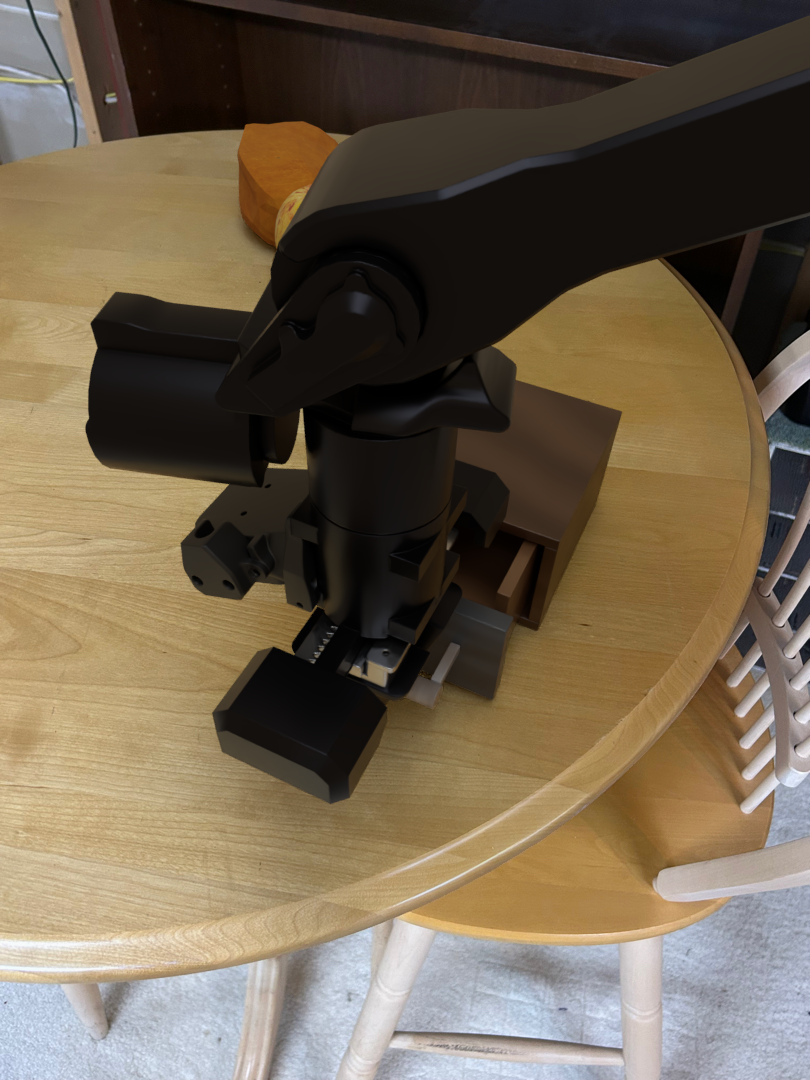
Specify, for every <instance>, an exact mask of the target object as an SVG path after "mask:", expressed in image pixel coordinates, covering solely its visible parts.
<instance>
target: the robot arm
mask: <svg viewBox="0 0 810 1080" xmlns="http://www.w3.org/2000/svg"><path fill="white" fill-rule="evenodd" d="M807 217H810V15H807V16H804V17H801V18H799V19H796V20H794V21H791V22H787V23H785V24H782V25H780V26H778V27H775V28H772V29H769V30H767V31H764V32H761V33H758V34H756V35H753V36H751V37H748V38H744V39H742V40H740V41H737V42H735V43H734V42H733V43H731V44H728V45H726V46H723V47H720V48H718V49H715V50H713V51H710V52H707V53H704V54H702V55H699V56H696V57H694V58H691V59H688V60H686V61H683V62H680V63H677V64H675V65H671V66H669V67H667V68H663V69H661V70H659V71H655V72H653V73H650V74H647V75H644V76H642V77H639V78H636V79H634V80H632V81H629V82H626V83H623V84H621V85H618V86H615V87H612V88H610V89H607V90H604V91H602V92H598V93H596V94H593V95H591V96H587V97H586V98H585V97H584V98H583V99H580V100H576V101H572V102H566V103H561V104H554V105H550V106H545V107H539V108H530V109H529V108H527V109H526V108H525V109H524V108H522V109H521V108H483V107H482V108H481V107H480V108H479V107H478V108H476V107H474V108H473V107H470V108H469V107H468V108H467V107H466V108H462V109H455V110H450V111H444V112H439V113H434V114H428V115H422V116H417V117H412V118H407V119H406V118H405V119H402V120H395V121H391V122H385V123H379V124H374V125H371V126H368V127H365V128H362V129H360V130H359V131H357V132H355V133H353V134H352V135H350V136H348V137H347V138H346V139H344V140H342V141H341V142H339V143H338V146H337V147H336V148H335V149H334V150H333V151H332V152H331V154H330V155H329V156H328V157H327V159H326V161H325V162H324V164H323V166H322V167H321V169H320V171H319V173H318V174H317V176H316V178H315V180H314V181H313V183H312V185H311V187H310V188H309V190H308V192H307V194H306V195H305V197H304V199H303V201H302V202H301V204H300V206H299V208H298V209H297V211H296V213H295V215H294V216H293V218H292V220H291V222H290V223H289V225H288V227H287V229H286V231H285V232H284V234H283V236H282V238H281V239H280V241H279V243H278V246H277V249H276V248H275V249H276V250H275V252H274V253H275V254H274V257H273V260H272V263H271V266H270V268H269V269H270V279H269V280H268V283H267V285H266V287H265V288H264V290H263V291H262V294H261V295H260V297H259V299H258V301H257V302H256V305H255V307H254V309H253V310H252V311H248V310H240V309H230V308H222V307H221V308H220V307H213V306H205V305H204V306H203V305H197V304H195V305H194V304H185V303H178V302H170V301H165V300H164V299H163V300H162V299H159V298H156V297H154V296H150V295H147V294H141V293H132V292H126V291H125V292H123V291H114V293H113V294H111V296H110V297H109V298H108V299H107V300H106V302H105V304H104V305H103V306H102V307H101V309H100V310H99V311H98V312H97V314H96V315H95V316H94V318H93V319H91V322H90V324H89V325H90V327H91V331H92V334H93V338H94V342H95V346H96V350H95V353H94V357H93V361H92V365H91V369H90V374H89V383H88V390H87V413H88V414H87V415H88V419H87V421H86V422H85V427H84V430H85V435H86V438H87V442H88V445H89V447H90V450H91V452H92V453H93V455H94V457H95V458H96V459H97V461H99V463H100V465H102V466H104V467H106V468H108V469H110V470H118V471H126V472H132V473H141V474H149V475H155V476H162V477H172V478H177V479H178V478H179V479H185V480H186V479H187V480H193V481H201V482H208V483H214V484H215V483H216V484H224V485H227V486H226V487H225V488H224V489H223V490H222V492H221V493H219V494H218V496H217V497H216V498H215V499H214V500H213V501H212V502H211V503H210V504H209V505H208V507H206V509H204V511H203V512H202V513H201V514H200V515H199V517H198V518H197V519H196V521H195V522H194V528H192V530H191V531H190V532H189V533H188V534H187V535H186V536H185V537H184V538H183V539H182V541H181V542H180V552H181V559H182V560H181V561H182V568H183V570H184V573H185V574H186V576H187V578H189V581H190V582H191V584H192V586H193V587H194V589H196V590H197V591H198V592H200V593H201V594H202V595H204V596H208V597H214V598H221V599H227V600H233V601H241V600H243V599H244V598H245V597H246V595H247V594H248V593H249V591H250V590H251V589H252V588H253V586H254V585H255V584H256V583H260V584H267V585H275V586H283V585H284V590H285V592H284V593H285V600H286V604H288V605H290V606H292V607H295V608H298V609H300V610H303V611H305V612H307V613H311V614H310V616H309V618H307V620H306V621H305V623H304V624H303V626H302V627H301V628H300V630H299V631H298V633H297V634H296V636H295V637H294V639H293V640H292V642H291V647H290V648H291V652H292V653H290V652H288V651H285V650H284V649H281V648H279V647H276V646H274V645H273V646H271V647H266V648H262V649H259V650H257V651H256V652H255V653H254V655H253V656H252V658H251V659H250V660H249V662H248V663H247V664H246V666H245V667H244V668H243V670H242V671H241V672H240V674H239V675H238V676H237V678H236V679H235V681H234V682H233V683H232V685H231V686H230V688H229V689H228V690H227V691H226V693H225V694H224V695H223V697H222V698H221V699H220V700H219V702H218V704H217V705H216V706H215V708H214V709H213V710H212V712H211V715H212V719H213V724H214V728H215V732H216V736H217V740H218V743H219V747H220V750H221V753H223V754H225V755H227V756H228V757H231V758H233V759H235V760H237V761H240V762H242V763H243V764H245V765H248V766H250V767H252V768H253V769H256V770H258V771H260V772H262V773H263V774H264V773H265V774H267V775H269V776H271V777H273V778H275V779H277V780H279V781H281V782H283V783H285V784H287V785H289V786H291V787H294V788H296V789H298V790H300V791H301V792H304V793H306V794H308V795H311V796H312V797H314V798H316V799H318V800H321V801H323V802H325V803H327V804H329V805H332V804H335V803H339V802H341V801H345V800H347V799H351V797H352V795H353V793H354V791H355V789H356V787H357V786H358V784H359V782H360V780H361V779H362V777H363V775H364V773H365V771H366V769H367V768H368V767H369V764H370V762H371V760H372V758H373V757H374V755H375V754H376V751H377V750H378V748H379V746H380V743H381V741H382V737H383V735H384V731H385V729H386V726H387V723H388V713H389V712H388V711H389V710H388V706H387V704H388V703H390V702H399V701H400V702H401V701H402V700H405V699H406V698H405V697H406V696H407V695H408V694H409V692H410V690H411V689H412V687H413V685H414V683H415V681H416V679H417V678H418V676H419V675H420V674H421V672H422V671H421V670H422V669H423V667H424V665H425V663H426V661H427V660H428V658H429V656H430V652H429V651H428V650H429V649H430V647H431V646H432V645H433V644H434V642H435V641H436V640H437V638H438V637H439V636H440V635H441V633H442V632H443V631H444V629H445V627H446V625H447V623H448V622H449V620H450V618H451V616H452V614H453V613H454V611H455V609H456V607H457V605H458V604H459V602H460V600H461V598H462V595H463V592H462V589H461V587H460V586H459V585H458V584H456V583H454V582H451V581H452V579H453V578H454V576H455V574H456V572H457V571H458V569H459V560H460V554H458V553H455V552H452V551H450V550H451V548H452V547H453V545H454V543H455V542H456V540H457V538H458V535H459V530H458V529H457V528H456V527H453V526H454V524H458V525H460V526H463V527H466V528H469V529H472V530H475V537H474V544H476V545H479V546H482V547H486V548H489V546H490V544H491V542H492V540H493V539H494V537H495V535H496V533H497V531H498V530H499V528H500V526H501V524H502V522H503V521H504V519H505V517H506V513H507V507H508V501H509V495H510V490H509V489H508V488H507V486H506V485H505V484H504V483H503V481H502V480H501V479H500V477H499V476H498V475H497V474H496V473H495V472H492V471H489V470H486V469H483V468H480V467H477V466H474V465H471V464H468V463H465V462H462V461H459V460H456V459H455V456H456V446H457V435H458V428H462V429H470V430H478V431H486V432H494V433H502V432H505V431H506V430H507V429H509V427H510V425H511V417H512V408H513V400H514V391H515V382H516V380H517V373H518V367H517V364H516V363H515V362H514V361H513V360H512V359H511V358H510V357H508V355H507V354H506V353H504V352H503V351H502V350H500V349H499V348H497V347H495V346H494V345H496V344H498V343H500V342H501V341H502V340H504V339H505V338H507V337H508V336H509V335H511V334H512V333H514V332H515V331H516V330H518V328H520V327H522V326H523V325H524V324H525V323H527V322H529V321H530V319H532V318H534V317H535V316H536V315H537V314H539V312H541V311H542V310H544V309H545V308H546V307H548V306H549V305H550V304H552V303H554V301H556V300H557V299H558V298H560V297H561V296H562V295H564V294H566V293H568V292H570V291H571V290H573V289H576V288H578V287H580V286H582V285H584V284H586V283H588V282H591V281H593V280H595V279H597V278H599V277H602V276H605V275H607V274H609V273H613V272H617V271H620V270H623V269H627V268H631V267H634V266H637V265H642V264H645V263H648V262H652V261H657V260H658V259H663V258H667V257H669V256H673V255H677V254H681V253H684V252H687V251H690V250H694V249H698V248H702V247H705V246H708V245H713V244H716V243H719V242H722V241H726V240H730V239H733V238H737V237H740V236H743V235H747V234H751V233H754V232H757V231H758V232H759V231H761V230H765V229H768V228H772V227H775V226H779V225H783V224H786V223H791V222H793V221H797V220H800V219H803V218H807ZM301 410H302V419H303V420H302V421H303V433H304V444H305V455H306V456H305V457H306V468H307V469H305V468H283V467H281V468H280V467H269V465H270V464H272V465H273V464H274V465H283V466H284V465H286V464H287V463H288V461H289V460H290V458H291V456H292V454H293V451H294V448H295V446H296V445H295V444H296V440H297V436H298V432H299V425H300V419H301Z"/></svg>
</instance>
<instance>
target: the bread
mask: <svg viewBox="0 0 810 1080" xmlns="http://www.w3.org/2000/svg"><path fill="white" fill-rule="evenodd" d="M338 144H339V143H338V141H337V140H336V139H335V138H333V137H332V136H330V135H329V134H328V133H327V132H325V131H324V130H323V129H321V128H320V127H318V126H315V125H314V124H311V123H308V122H306V121H302V120H301V121H282V122H274V123H269V124H268V123H247V124H245V125H244V129H243V132H242V136H241V139H240V141H239V145H238V149H237V155H236V157H237V162H238V205H239V209H240V214H241V217H242V219H243V222H244V223H245V224H246V225H247V227H248V228H250V229H251V231H252V232H253V233H255V234H256V235H257V236H259V237H260V239H262V240H263V241H264V242H265V243H266V244H268V245H270V246H272V247H273V246H274V247H276V244H275V225H276V219H277V215H278V212H279V210H280V208H281V206H282V204H283V202H284V201H285V200H286V199H287V197H288V196H289V195H291V194H292V193H293V192H294V191H296V190H297V189H299V188H302V187H304V186H307V185H310V184H312V183H313V181H314V180H315V178H316V176H317V174H318V173H319V171H320V169H321V167H322V166H323V164H324V162H325V161H326V159H327V157H328V156H329V155H330V154H331V152H332V151H333V150H334V149H335V148H336V147H337V146H338Z"/></svg>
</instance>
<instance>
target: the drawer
mask: <svg viewBox="0 0 810 1080" xmlns="http://www.w3.org/2000/svg"><path fill="white" fill-rule="evenodd" d="M453 527H456V528H457V529H458V530H459V535H458V538H457V540H456V542H455V543H454V545H453V547H452V548H451V550H450V551H452V552H455V553H458V554H460V560H459V569H458V571H457V572H456V574H455V576H454V578H453V579H452V581H451V582H454V583H456V584H458V585H459V586H460V587H461V589H462V592H463V595H462V598H461V600H460V602H459V604H458V605H457V607H456V609H455V611H454V613H453V614H452V616H451V618H450V620H449V622H448V623H447V625H446V627H445V629H444V631H443V632H442V633H441V635H440V636H439V637H438V638H437V640H436V641H435V642H434V644H433V645H432V646H431V647H430V649H429V650H428V651H429V652H430V656H429V658H428V660H427V661H426V663H425V665H424V667H423V669H422V670H421V672H423V673H426V674H428V675H431V677H430V679H429V678H426V677H424V676H421V675H420V674H419V676H418V678H417V679H416V681H415V683H414V685H413V687H412V689H411V690H410V692H409V694H408V695H407V696H406V697H405V698H404V699H407V700H409V701H412V702H414V703H417V704H418V705H421V706H423V707H426V708H428V709H430V710H435V709H436V707H437V706H438V704H439V702H440V700H441V697H442V694H443V690H444V686H443V684H444V682H447V683H450V684H452V685H454V686H457V687H458V688H462V689H464V690H467V691H469V692H471V693H474V694H476V695H479V696H481V697H483V698H486V699H488V700H490V701H493V700H494V698H495V697H496V695H497V692H498V690H499V688H500V685H501V680H502V676H503V671H504V665H505V661H506V656H507V651H508V646H509V642H510V637H511V635H512V632H513V630H514V629H515V627H516V624H517V623H516V622H517V620H518V618H519V616H520V614H521V612H522V610H523V608H524V606H525V604H526V602H527V600H528V598H529V596H530V594H531V591H532V589H533V587H534V585H535V583H536V581H537V578H538V573H539V569H540V565H541V560H542V556H543V552H544V547H545V546H543V545H540V544H537V543H535V542H532V541H529V540H526V539H523V538H520V537H518V536H515V535H512V534H509V533H506V532H504V531H501V530H498V531H497V533H496V535H495V537H494V539H493V540H492V542H491V544H490V546H489V548H486V547H482V546H479V545H476V544H474V537H475V530H472V529H469V528H466V527H463V526H460V525H458V524H454V526H453Z"/></svg>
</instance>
